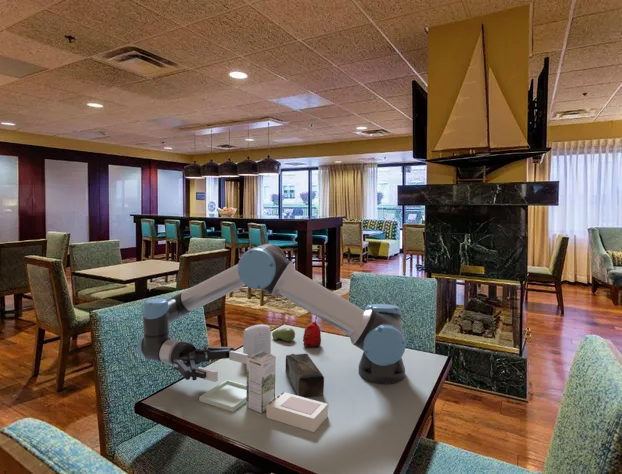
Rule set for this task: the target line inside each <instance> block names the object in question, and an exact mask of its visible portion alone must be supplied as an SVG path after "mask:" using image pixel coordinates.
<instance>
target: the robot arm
mask: <svg viewBox="0 0 622 474" xmlns="http://www.w3.org/2000/svg"><path fill="white" fill-rule="evenodd" d="M286 257H287V256H286V255H285V253H284V250H282V248H280V247H279V245H276V244H273V243H264V244H261V245H259V246H254V247H252V248H249V249H248V250H247V251H245V252H244V253H243V254H242V255H241V257H240V259H239V260H238V263H237V264H235V265H233V266H231V267H229V268H227V269H226V270H224V271H222V272H219V273H218V274H215V275H213V276H211V277H209V278H208V279H206V280H204V281H202V282H199V283H198V284H195V285H194V286H192V287H190V288H188V289H185V290H184V291H181V292H180V293H178V294H176V295H173V296H172V297H169V298H168V299H166V298H160V297H159V298H158V297H156V298H152V299H150V298H149V299H147V300H146V301H144V302H143V311H142V316H143V317H142V319H143V335H142V336H141V337H139V339H138V343H137V344H136V352H137V354H138V355H139V356H140V357H142V358H145V359H147V360H149V361H150V360H152V361H157V362H160V363H163V364H167V365H169V366H173V369H174V370H175V371H178V372H179V373H180V375H181V376H182V377H183V378H184V379H185V380H187V381H188V380H190V379H191V380H192V381H197V379H198V378H199V379H203V380H207V381H210V382H214V383H217V382H219V381H218V378H219V377H218V371H217V370H213V369H209V368H206V367H203V366H198V367H197V365H200V364H201V363H203V362H205V363H207V362H210V361H212V360H222V359H224V360H225V359H229V361H233V362H237V363H241V364H245V365H247V357H248V354H244V353H243V352H240V351H239V352H238V351H235V347H234V346H209V345H204V346H203V349H200V348H198V349H197V348H196V346H195V345H194V344H193V343H190V342H187V341H182V340H177V339H173V338H170V335H169V334H170V324H171V323H172V322H174V321H176V320H178V319H179V318H181V317H183V316H185V315H187V314H189V313H192V312H193V311H195V310H197V309H199V308H201V307H203V306H205V305H208V304H210V303H211V302H213V301H215V300H218V299H219V298H222V297H224V296H226V295H228V294H230V293H232V292H234V291H237V290H238V289H240V288H242V287H245V286H246V287H248V288H250V289H253V290H262V291H264V293H265V292H266V293H267V294H269V295H270V296H273V297H274V296H277V295H281V296H282V297H284V298H286V299H287V300H289V301H290V302H293V303H294V304H295V305H297V306H299V307H300V308H302V309H304V310H306V311H307V312H309V313H310V314H312V315H314V316H315V317H316V316H317V318H319V319H320V320H322V321H323V322H325V323H327V324H328V325H330V326H332V327H333V328H335V329H337V330H339V331H340V332H341V333H343V334H346V335H347V336H348V337H349V340H350V343H351V344H352V345H353V346H355V347H357V348H358V349H360V350H361V351H363V352H362V354H361V356H360V357H361V358H360V360H359V364H358V374H359V376H360V377H361V378H363V379H364V380H366V381H369V382H372V383H377V384H385V385H386V384H389V385H390V384H394V383H398V382H401V381H403V380H404V379H405V377H406V367H405V364H404V361H403V356H404V355H405V354H404V353H405V351H406V344H407V343H406V342H407V340H406V335H405V334H404V331H403V328H402V327H403V326H402V316H403V315H402V309H401V308H400V306H398V305H394V304H385V303H372V304H367V305H366V306H365V309H362V308H360V307H358V306H357V305H355V304H353V303H352V302H350V301H348V300H347V299H345V298H343V297H342V296H340V295H338V294H336V293H335V292H334V291H331V290H330V289H329V288H326V287H325V286H323V285H322V284H319V283H318V282H317V281H315V280H313V279H311V278H310V277H308V276H306V275H304V274H302V273H301V272H299V271H297V270H296V269H295V267H294V263H293V261H291V260H289V259H288V258H286Z"/></svg>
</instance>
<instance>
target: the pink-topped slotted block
mask: <svg viewBox="0 0 622 474" xmlns="http://www.w3.org/2000/svg"><path fill="white" fill-rule="evenodd" d="M328 415H329V403H326V402H323V401H319V400H314V399H310V398H309V397H300V396H298V395H297V394H292V393H288V392H285V391H282V392H280V393H279V394H277V396H275V398H274V399H273V400H272V401H270V402H269V403H268V404H267V405H266V419H270V420H273V421H276V422H280V423H283V424H286V425H289V426H293V427H295V428H298V429H301V430H305V431H308V432H312V433H315V432H316V431H317V430H318V428H319V427H320V426H321V425H322V424H323V423H324V422H325V420H326V419H327V418H328Z"/></svg>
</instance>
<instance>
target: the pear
mask: <svg viewBox="0 0 622 474" xmlns="http://www.w3.org/2000/svg"><path fill="white" fill-rule="evenodd" d="M295 336H296V332H295V330H294V329H293V328H290V327H283V328H281V329H275V330H274V331H272V333H271V337H272V340H274V341H277V340H280V339H281V340H283V341H284V342H292V341H294V340H295Z"/></svg>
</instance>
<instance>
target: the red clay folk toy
mask: <svg viewBox="0 0 622 474" xmlns="http://www.w3.org/2000/svg"><path fill="white" fill-rule="evenodd" d="M314 318H315V321H313V322H311V323H309V324H307V325H306V327H304V333H303V339H302V341H303V345H304V347H305V348H316V347H319V346H321V344H322V338H321V337H322V335H321V334H322V332H321V328H320V326H319V325H318V323H317V319H318V317H317V316H315V317H314Z"/></svg>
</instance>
